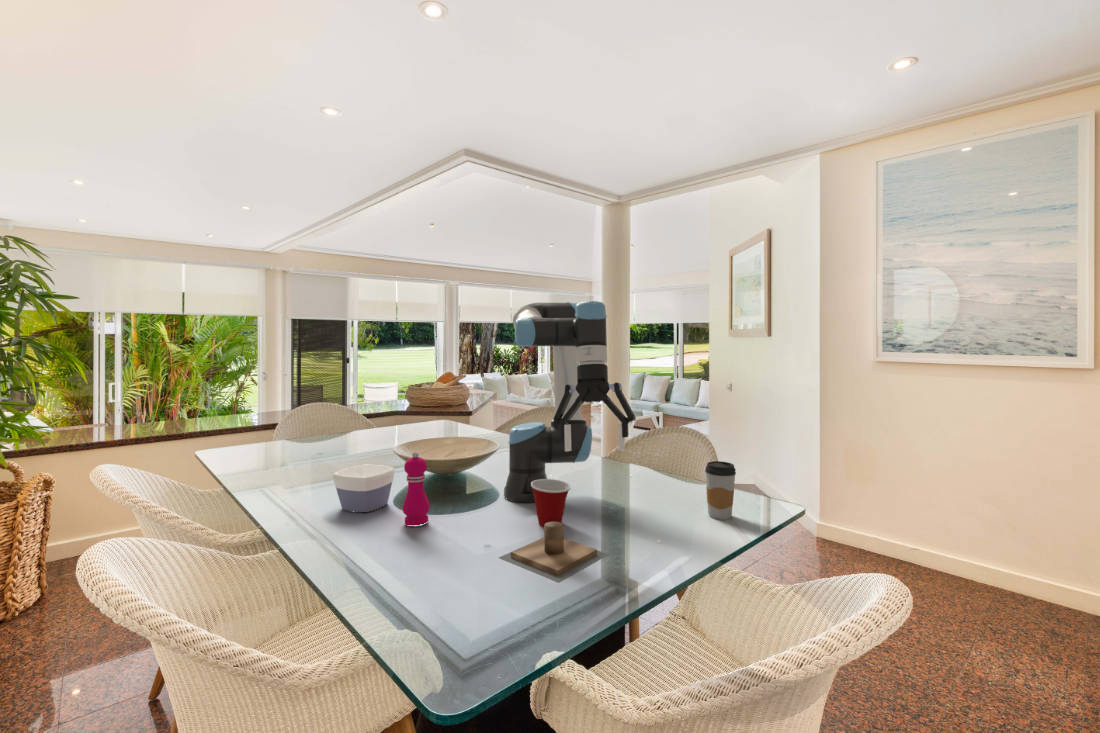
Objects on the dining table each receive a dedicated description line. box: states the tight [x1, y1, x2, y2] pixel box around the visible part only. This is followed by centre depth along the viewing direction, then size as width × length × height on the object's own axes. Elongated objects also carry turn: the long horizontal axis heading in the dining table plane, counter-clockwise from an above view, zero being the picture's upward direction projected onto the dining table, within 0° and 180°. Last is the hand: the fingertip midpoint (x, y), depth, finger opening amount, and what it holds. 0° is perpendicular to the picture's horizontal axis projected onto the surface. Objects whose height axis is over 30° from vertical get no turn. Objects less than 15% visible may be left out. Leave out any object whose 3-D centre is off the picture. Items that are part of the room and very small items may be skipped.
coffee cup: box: [704, 460, 737, 521], centre depth 144 cm, size 8×8×15 cm
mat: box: [498, 549, 609, 583], centre depth 116 cm, size 18×18×1 cm
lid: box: [511, 522, 598, 576], centre depth 116 cm, size 14×14×7 cm
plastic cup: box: [531, 478, 572, 528], centre depth 136 cm, size 11×11×12 cm
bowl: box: [332, 464, 396, 513], centre depth 154 cm, size 15×15×11 cm
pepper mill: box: [402, 451, 431, 526], centre depth 139 cm, size 7×7×20 cm
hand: (594, 451), depth 123 cm, fingers open, 13 cm apart
